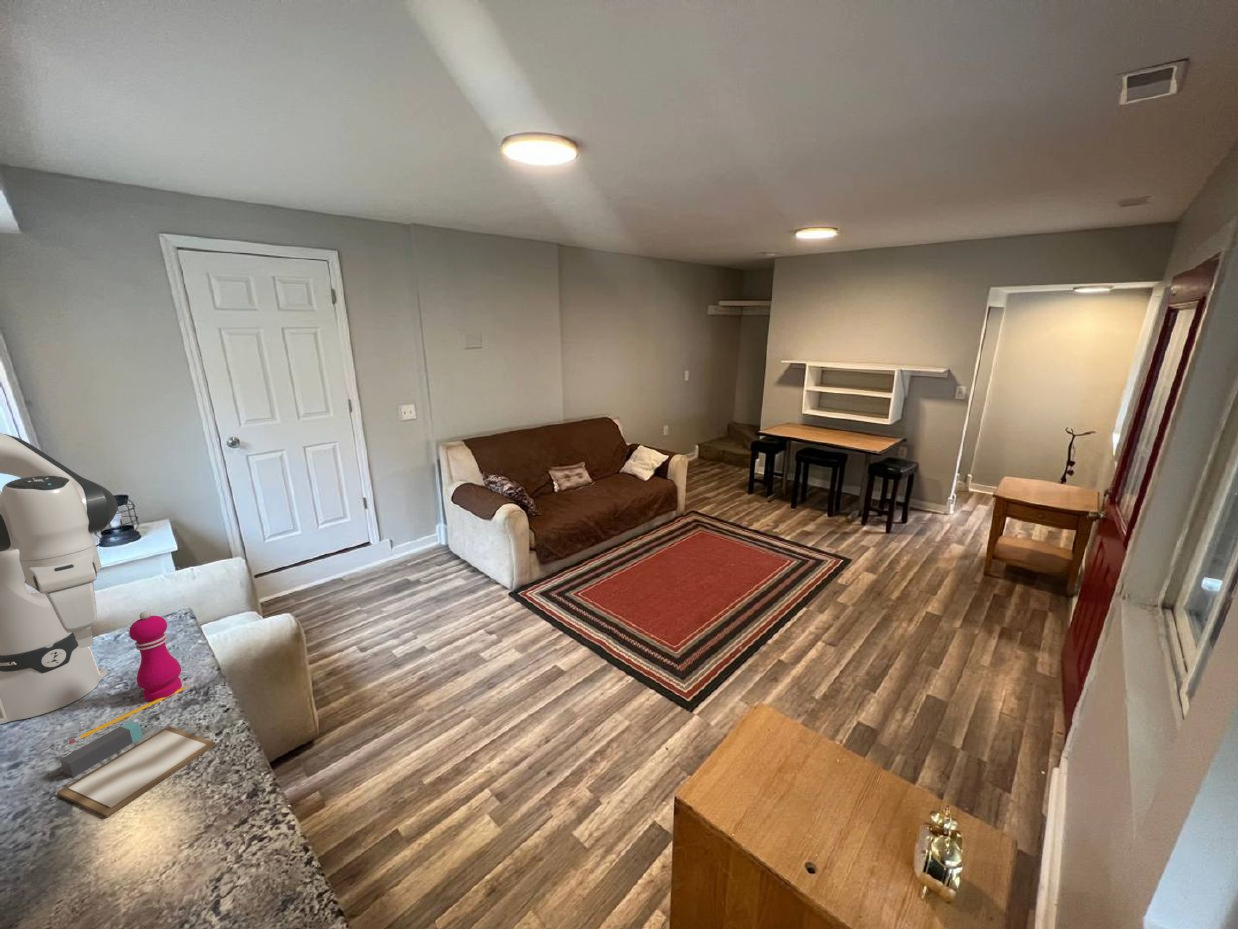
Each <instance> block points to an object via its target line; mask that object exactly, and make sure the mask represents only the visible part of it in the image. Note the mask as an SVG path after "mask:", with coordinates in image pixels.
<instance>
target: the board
mask: <svg viewBox="0 0 1238 929" xmlns="http://www.w3.org/2000/svg"><path fill="white" fill-rule="evenodd" d="M215 746H216V742H215V741H212V740H209V739H206V738H203V737H201V736H197V735H195V734H192V733H189V732H187V731H183V730H181V729H177V728H175V727H171V726H169V725H168V726H167V727H165V728H163V729H162V730H160V731H158V732H156V733H155V734H153V735H151V736H149V737H148V738H146V739H145V740H143V741H141V742H140V743H138V744H136V745H135V746H133V747H130V749H128V750H126V751H124V752H122V753H121V754H119V755H117V756H116V757H114V758H113V759H111V760H109V761H108V762H106V763H104V764H102V765H100V766H99V767H97V768H96V769H94V770H92V771H90V772H89V773H87V774H85V775H84V776H81V777H80V778H79V779H76V780H75V781H74V782H73V781H72V783H70V784H68V785H66V786H65V787H63V788H62V789H60V790H58V791H56V793H57V795H58V796H59V797H61V798H64V799H66V800H68V801H71V802H72V803H74V804H76V805H79V806H80V807H83V808H84V809H86V810H89V811H91V812H94V813H95V814H98V815H100V816H101V817H104V818H106V819H108V818H109V817H112V815H114V814H115V813H117V812H118V811H120V810H121V809H123V808H124V807H126V806H127V805H129V804H131V802H133V801H135V800H136V799H138V798H140V796H142V795H144V794H145V793H147V792H148V791H150V790H151V789H152V788H154V787H156V786H157V785H158V784H160V783H162V782H163V781H165V780H166V779H167V778H169V777H170V776H172V775H173V774H175V773H176V772H178V771H179V770H181V769H182V768H184V767H186V766H187V765H188V764H190V763H191V762H193V761H194V760H196V759H197V758H199V757H200V756H202V755H203V754H205V753H206V752H209V751H210V749H212V748H214V747H215Z"/></svg>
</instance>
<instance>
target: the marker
mask: <svg viewBox="0 0 1238 929" xmlns="http://www.w3.org/2000/svg"><path fill="white" fill-rule="evenodd" d="M143 737H144V736H143V731H142V726H141V724H140V723H138V722H136V721H133V720H130V721H127V722H125V723H124V724H122V725H120V726H118V727H116V728H114V729H113V730H111V731H108V732H107V733H105V734H103V735H102V736H101V735H100V736H99V737H98V738H96V739H94V740H92V741H90V742H88V743H86V744H85V745H82V747H79V748H78V749H76V750H73V751H72V752H70V753H68V754H66V755H65V756H63V757H61V758H59V759H60V760H59V761H60V763H61V764H60V765H61V767H62V770H63V773H64V774H65V775H68V776H70V777H72V778H75V777H77V776H79V775H80V774H82V773H83V772H85V771H88V770H89V769H91V768H92V767H94V766H96V765H98V764H99V763H101V762H103V761H104V760H106V759H108V758H109V757H111V756H113V755H114V754H116V753H118V752H120V751H122V750H124V749H125V748H127V747H128V746H130V745H132V744H134V743H135V742H137V741H139V740H140V739H142V738H143Z"/></svg>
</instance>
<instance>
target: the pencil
mask: <svg viewBox="0 0 1238 929" xmlns="http://www.w3.org/2000/svg"><path fill="white" fill-rule="evenodd" d="M189 687H191V685H188V686H184V687H181V688H180V689H178V690H177V691H176V692H175V693H174V694H172V695H170V696H168V697H165V698H160V699H157V700H155V701H150V702H148V703H147V704H144V705H142V706H140V707H138V708H136V709H134V710H132V711H130V712H128V713H125V714H123V715H121V716H119V717H116V718H115V719H113V720H111V721H109V722H107V723H104V724H102V725H100V726H98V727H95V728H94V729H91V730H89V731H87V732H85V733H84V734H81V735H79V736H77V737H75V738H72V739H71V740H69V741H68V742H69V744H73V743H76V742H78V741H79V740H82V739H83V738H86V737H88V736H90V735H92V734H94V733H96V732H98V731H100V730H103V729H105V728H107V727H109V726H111V725H114V724H115V723H118V722H120V721H122V720H123V719H126V718H127V717H130V716H132V715H134V714H137V713H138V712H140V711H142V710H144V709H147V708H148V707H150V706H153V705H154V704H157V703H158V702H159V703H160V702H161V701H163V700H165V699H167V698H170V697H172V696H173V695H175V694H177V693H179V692H182V691H184V690H185V689H188V688H189Z"/></svg>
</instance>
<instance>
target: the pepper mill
mask: <svg viewBox="0 0 1238 929" xmlns="http://www.w3.org/2000/svg"><path fill="white" fill-rule="evenodd" d="M167 629H168V623H167V620H166V619H165V618H164V617H162V616H160V615H152V614H151V611H148V610H144V611H142V612H141V613H140V614H139V619H137V620H135V622H133V623H131V626H130V627H129V631H128V634H129V635H128V636H129V638H130V639H132V640H133V641H135V643H134V645H135V646H136V647H135V650H138V651H139V652H140V656H141V657H140V665H139V667H138V671H137V674H136V686H138V687H139V688H140V689H143V691H142V695H143V698H144V700H145V701H147V702H153V701H155V700H157V699H160V698H165V697H167V698H169V697H168V696H170V695H172V694H174V693H175V692H176V691H177V690H178V689H180V688H183V687H182V685H183V684H182V680H181V678H180V677H179V676H180V674H181V673H182V667H181V665H180V663H179V661H178V660H177V659H176V658H174V657H173V656H172V654H171V653H170V652H169V650H168V648H167V646H166V645H167V643H166V642H167V641H168V637H167V633H165V632H166V631H167ZM174 695H175V694H174ZM172 696H173V695H172ZM170 697H171V696H170ZM165 699H166V698H165Z"/></svg>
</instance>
